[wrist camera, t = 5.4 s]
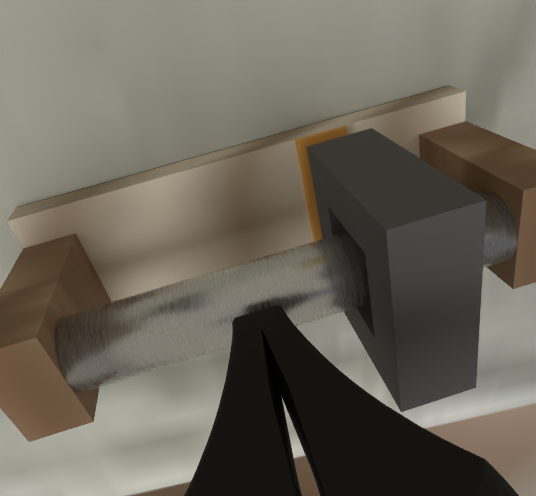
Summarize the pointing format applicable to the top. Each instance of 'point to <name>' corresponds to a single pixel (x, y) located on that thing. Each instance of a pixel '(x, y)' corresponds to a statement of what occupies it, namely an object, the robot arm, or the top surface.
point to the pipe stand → (219, 254)
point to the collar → (407, 261)
